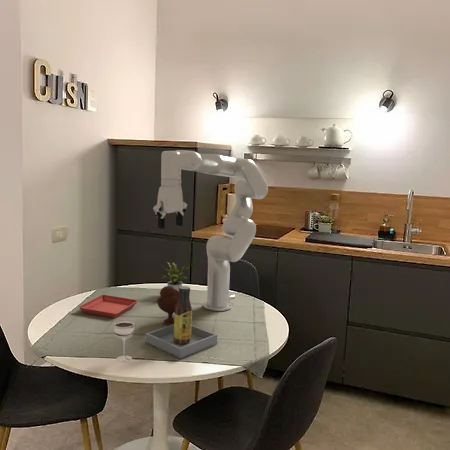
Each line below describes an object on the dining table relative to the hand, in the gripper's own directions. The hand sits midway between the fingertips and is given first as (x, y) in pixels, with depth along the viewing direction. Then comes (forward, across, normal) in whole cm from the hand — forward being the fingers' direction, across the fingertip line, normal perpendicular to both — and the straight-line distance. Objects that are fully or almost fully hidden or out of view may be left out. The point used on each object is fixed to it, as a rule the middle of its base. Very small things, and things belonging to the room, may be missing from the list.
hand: (170, 226), depth 190 cm
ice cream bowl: (+38, +3, +3) cm, 38 cm away
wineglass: (+38, +36, +16) cm, 55 cm away
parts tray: (+38, +14, +21) cm, 45 cm away
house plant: (+38, -22, -21) cm, 49 cm away
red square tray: (+38, +11, -25) cm, 47 cm away
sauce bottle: (+37, +14, +21) cm, 45 cm away
